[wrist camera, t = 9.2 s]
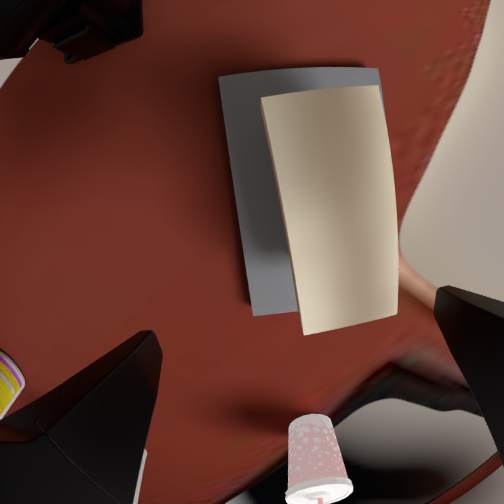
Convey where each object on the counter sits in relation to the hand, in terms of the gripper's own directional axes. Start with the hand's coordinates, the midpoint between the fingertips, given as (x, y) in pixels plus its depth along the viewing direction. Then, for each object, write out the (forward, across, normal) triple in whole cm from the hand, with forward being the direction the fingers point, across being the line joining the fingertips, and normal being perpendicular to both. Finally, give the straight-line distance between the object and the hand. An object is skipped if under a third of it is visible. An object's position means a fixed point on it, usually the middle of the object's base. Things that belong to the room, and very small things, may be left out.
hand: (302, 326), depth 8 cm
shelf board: (+8, -3, -2) cm, 8 cm away
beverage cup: (+12, -1, +22) cm, 25 cm away
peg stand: (+12, -3, -2) cm, 12 cm away
